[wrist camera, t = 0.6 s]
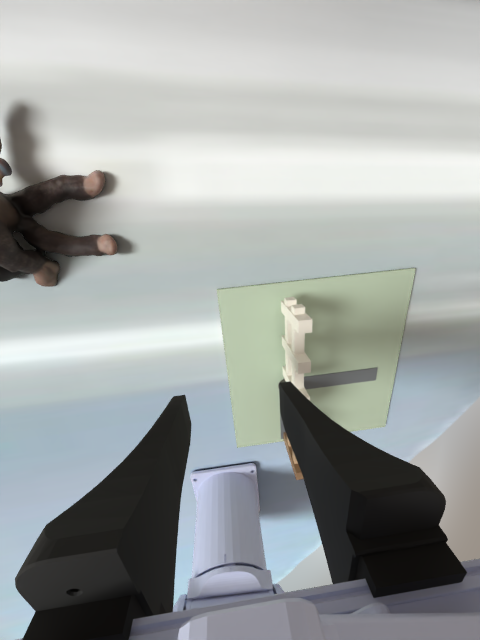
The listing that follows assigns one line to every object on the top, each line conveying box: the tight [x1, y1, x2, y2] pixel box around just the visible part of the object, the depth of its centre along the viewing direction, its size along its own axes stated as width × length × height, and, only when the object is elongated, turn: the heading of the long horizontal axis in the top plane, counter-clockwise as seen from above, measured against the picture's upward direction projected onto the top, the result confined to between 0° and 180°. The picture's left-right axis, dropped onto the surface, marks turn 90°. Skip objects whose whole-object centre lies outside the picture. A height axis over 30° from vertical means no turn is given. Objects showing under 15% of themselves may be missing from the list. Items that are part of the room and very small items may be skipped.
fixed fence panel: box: [278, 379, 304, 480], centre depth 24 cm, size 8×2×5 cm, turn 5°
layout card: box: [217, 268, 416, 448], centre depth 24 cm, size 19×18×1 cm
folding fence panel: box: [281, 297, 312, 401], centre depth 20 cm, size 9×1×5 cm, turn 5°
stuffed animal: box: [0, 139, 118, 286], centre depth 16 cm, size 12×10×12 cm
